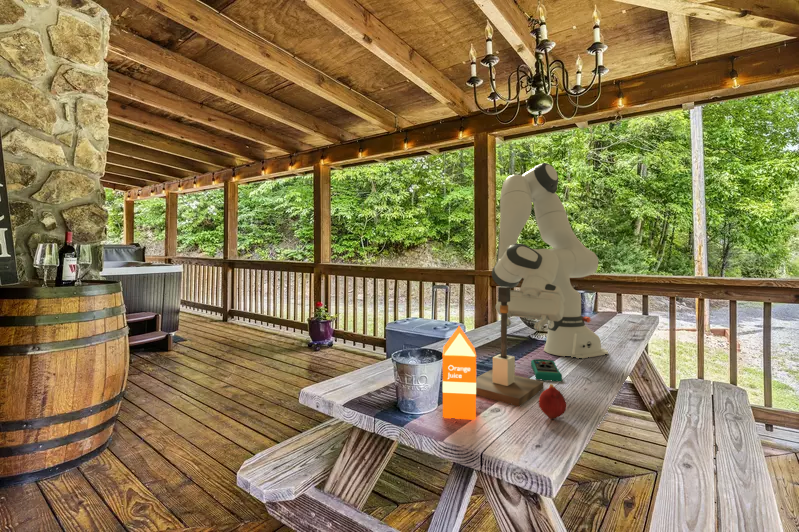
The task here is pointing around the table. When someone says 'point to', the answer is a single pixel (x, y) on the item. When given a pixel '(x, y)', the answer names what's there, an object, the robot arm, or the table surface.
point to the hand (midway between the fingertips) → (521, 327)
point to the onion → (552, 402)
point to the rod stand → (522, 386)
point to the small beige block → (503, 370)
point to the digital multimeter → (545, 370)
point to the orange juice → (459, 377)
